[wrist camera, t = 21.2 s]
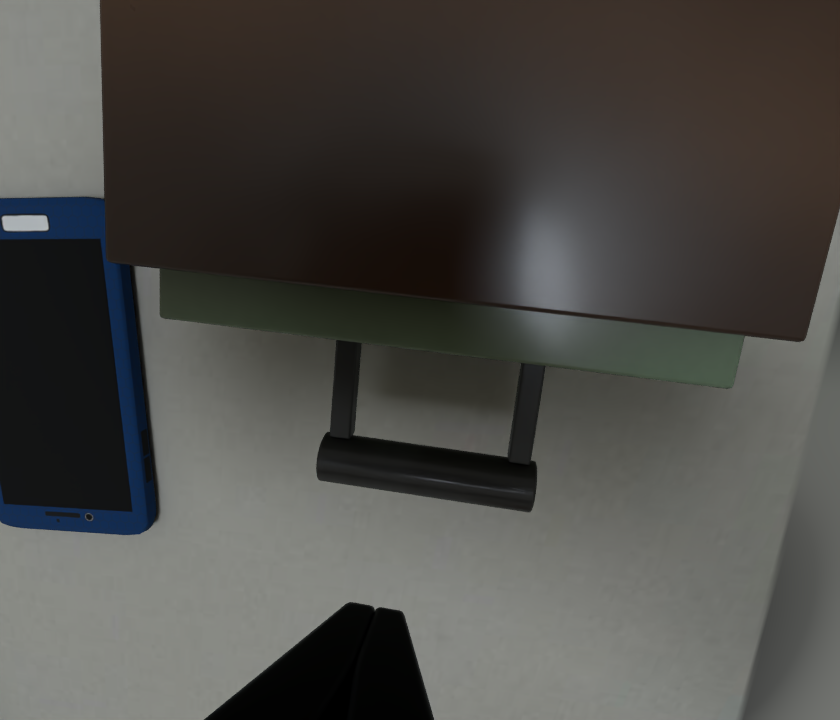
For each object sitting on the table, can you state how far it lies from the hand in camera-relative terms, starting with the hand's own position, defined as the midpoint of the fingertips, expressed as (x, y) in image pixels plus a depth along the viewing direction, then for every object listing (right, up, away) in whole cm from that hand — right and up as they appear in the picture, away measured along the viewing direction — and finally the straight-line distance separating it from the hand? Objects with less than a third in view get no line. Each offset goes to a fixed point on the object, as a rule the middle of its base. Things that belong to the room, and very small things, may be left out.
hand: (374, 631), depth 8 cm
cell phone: (-14, +4, +14) cm, 21 cm away
